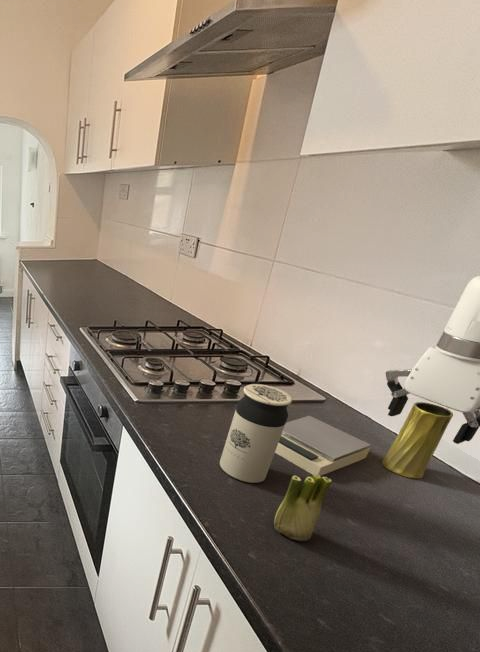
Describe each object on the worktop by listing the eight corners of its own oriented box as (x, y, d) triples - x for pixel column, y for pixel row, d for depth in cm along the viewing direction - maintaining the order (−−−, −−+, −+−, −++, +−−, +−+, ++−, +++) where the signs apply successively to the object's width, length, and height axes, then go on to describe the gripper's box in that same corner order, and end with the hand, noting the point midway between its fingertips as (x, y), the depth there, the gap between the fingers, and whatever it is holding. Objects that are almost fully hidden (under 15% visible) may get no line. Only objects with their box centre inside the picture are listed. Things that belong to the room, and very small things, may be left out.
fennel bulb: (269, 535, 69) (292, 478, 64) (268, 515, 73) (289, 461, 68) (313, 550, 66) (340, 492, 62) (309, 529, 70) (334, 473, 65)
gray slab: (308, 418, 96) (309, 415, 96) (369, 447, 86) (371, 444, 86) (273, 429, 92) (274, 426, 92) (333, 461, 82) (334, 458, 82)
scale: (305, 428, 98) (309, 416, 96) (365, 458, 87) (371, 446, 86) (258, 443, 92) (262, 431, 91) (317, 477, 82) (322, 464, 81)
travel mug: (246, 457, 88) (272, 382, 80) (274, 483, 81) (305, 403, 73) (210, 458, 87) (233, 383, 80) (235, 485, 80) (262, 405, 73)
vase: (377, 455, 88) (406, 397, 82) (417, 465, 85) (449, 406, 79) (385, 472, 83) (416, 412, 78) (427, 483, 80) (463, 421, 75)
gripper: (555, 363, 67) (499, 449, 74) (417, 327, 82) (381, 402, 89) (534, 370, 65) (477, 458, 72) (396, 332, 79) (360, 408, 86)
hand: (424, 427), depth 80 cm, fingers open, 9 cm apart
